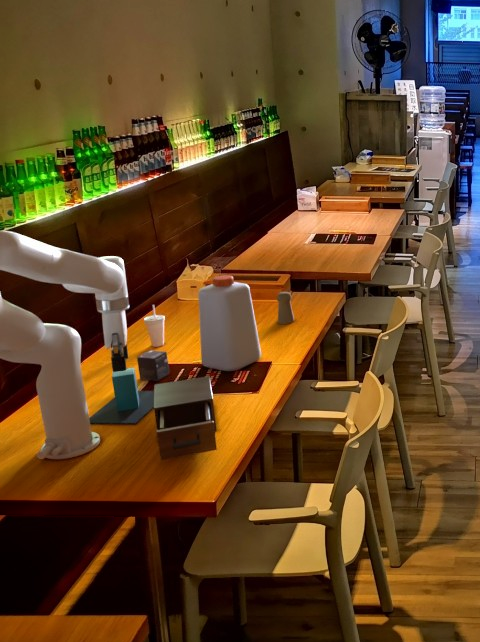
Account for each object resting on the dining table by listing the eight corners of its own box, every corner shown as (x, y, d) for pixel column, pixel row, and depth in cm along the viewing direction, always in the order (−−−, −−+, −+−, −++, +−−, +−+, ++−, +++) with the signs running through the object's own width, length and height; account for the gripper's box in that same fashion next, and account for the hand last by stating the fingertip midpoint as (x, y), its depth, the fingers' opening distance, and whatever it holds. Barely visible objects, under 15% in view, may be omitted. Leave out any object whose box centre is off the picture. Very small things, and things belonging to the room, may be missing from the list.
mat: (136, 424, 189) (136, 423, 189) (83, 424, 190) (83, 422, 189) (171, 392, 209) (171, 390, 208) (123, 392, 209) (122, 390, 209)
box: (157, 381, 216) (154, 358, 214) (139, 380, 217) (136, 357, 215) (170, 373, 222) (167, 351, 220) (152, 372, 223) (149, 349, 221)
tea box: (138, 408, 198) (133, 374, 195) (117, 411, 196) (111, 377, 193) (139, 400, 202) (134, 367, 200) (118, 403, 200) (113, 370, 198)
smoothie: (171, 341, 249) (166, 302, 245) (163, 348, 243) (158, 308, 239) (152, 341, 248) (147, 302, 245) (144, 348, 242) (138, 308, 239)
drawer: (217, 457, 171) (214, 429, 169) (160, 469, 166) (156, 440, 164) (213, 424, 187) (210, 398, 185) (160, 433, 183) (157, 407, 181)
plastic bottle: (267, 357, 234) (259, 273, 226) (232, 374, 221) (222, 286, 213) (231, 350, 240) (222, 268, 233) (196, 366, 227) (185, 280, 219)
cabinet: (216, 431, 186) (212, 398, 183) (158, 441, 180) (153, 408, 178) (213, 406, 199) (209, 376, 197) (159, 415, 194) (154, 384, 192)
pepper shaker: (274, 322, 267) (271, 294, 264) (283, 317, 272) (281, 289, 270) (288, 324, 265) (286, 295, 262) (297, 319, 271) (295, 291, 268)
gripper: (99, 297, 197) (107, 356, 201) (93, 313, 182) (102, 378, 186) (130, 294, 200) (137, 353, 204) (127, 310, 185) (135, 373, 189)
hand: (120, 364), depth 195 cm, fingers open, 9 cm apart
